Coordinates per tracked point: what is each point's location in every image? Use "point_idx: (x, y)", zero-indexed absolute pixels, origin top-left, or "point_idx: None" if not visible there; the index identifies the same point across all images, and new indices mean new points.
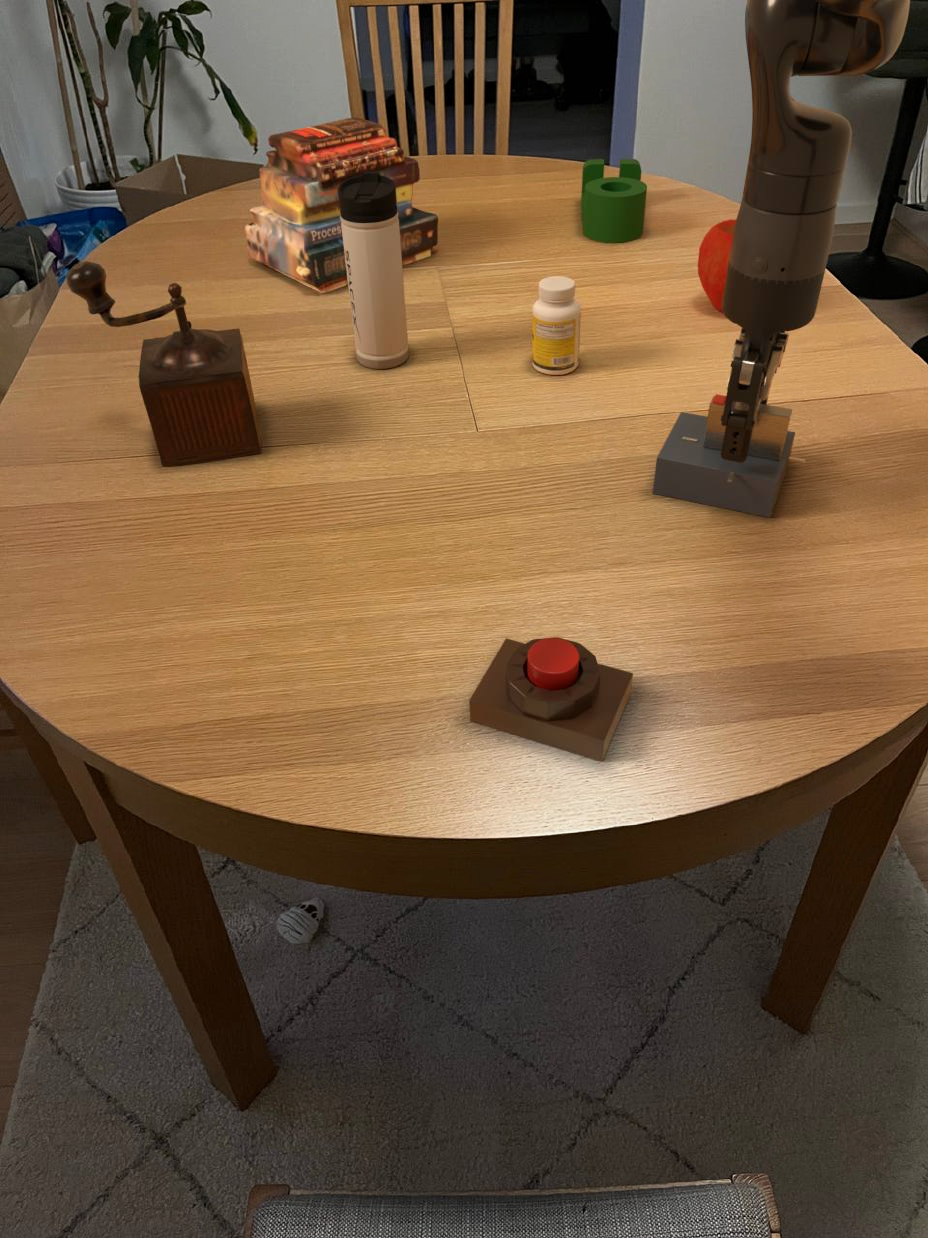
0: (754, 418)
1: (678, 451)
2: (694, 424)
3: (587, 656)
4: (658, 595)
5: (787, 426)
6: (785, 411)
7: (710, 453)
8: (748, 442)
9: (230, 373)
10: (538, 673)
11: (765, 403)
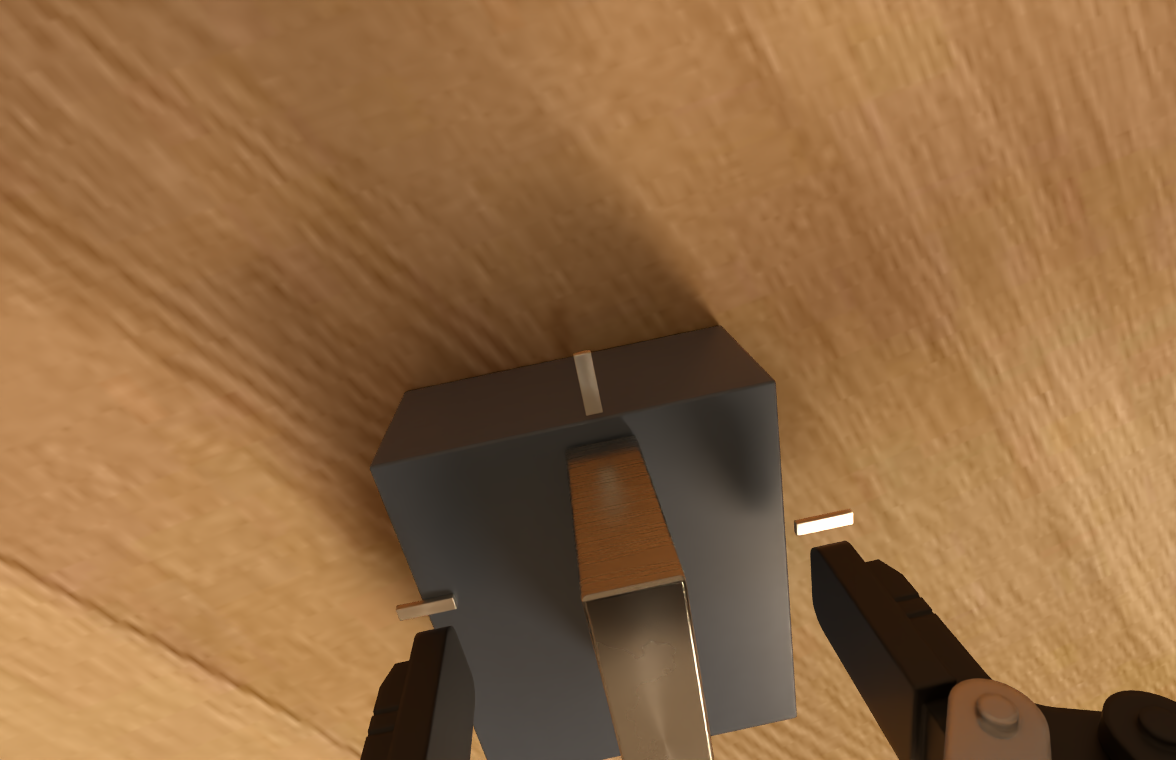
0: (1049, 734)
1: (736, 693)
2: (549, 728)
3: None
4: (1165, 421)
5: (661, 535)
6: (631, 613)
7: (700, 625)
8: (899, 607)
9: None
10: None
11: (440, 675)
